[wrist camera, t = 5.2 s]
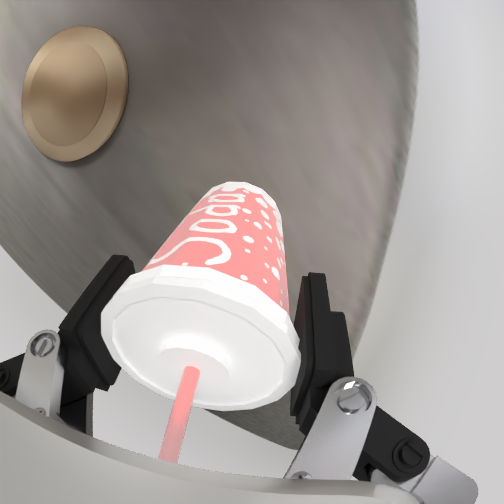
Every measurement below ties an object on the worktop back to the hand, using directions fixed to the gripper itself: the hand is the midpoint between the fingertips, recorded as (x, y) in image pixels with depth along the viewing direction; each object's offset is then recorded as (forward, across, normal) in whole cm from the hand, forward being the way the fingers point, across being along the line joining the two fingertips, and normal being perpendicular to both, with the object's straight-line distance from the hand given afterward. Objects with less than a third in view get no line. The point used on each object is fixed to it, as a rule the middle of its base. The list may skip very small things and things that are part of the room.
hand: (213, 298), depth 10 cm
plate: (+11, +14, -8) cm, 20 cm away
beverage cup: (+6, 0, 0) cm, 6 cm away
